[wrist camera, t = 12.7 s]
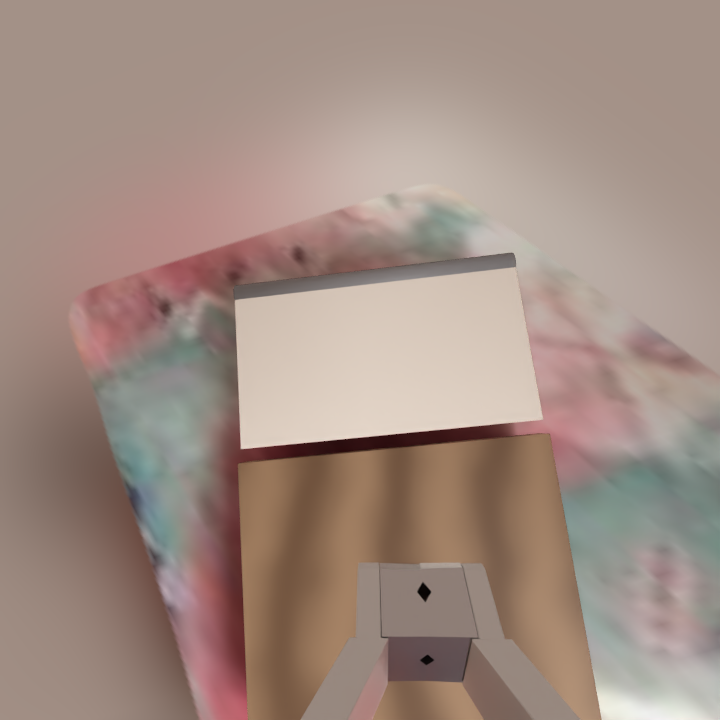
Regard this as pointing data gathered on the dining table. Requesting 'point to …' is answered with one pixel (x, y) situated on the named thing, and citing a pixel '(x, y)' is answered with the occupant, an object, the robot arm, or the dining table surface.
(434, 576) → the robot arm
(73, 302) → the dining table surface
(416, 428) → the panel
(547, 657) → the brown flat block
